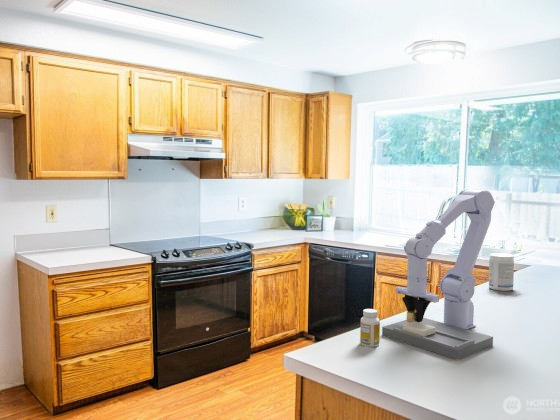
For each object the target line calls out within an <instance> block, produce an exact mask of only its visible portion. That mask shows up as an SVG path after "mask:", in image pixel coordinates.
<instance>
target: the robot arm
mask: <svg viewBox="0 0 560 420" xmlns="http://www.w3.org/2000/svg"><path fill="white" fill-rule="evenodd" d="M495 203H496V202H495V199H494V197H493V195H492V193H491V192H490V191H489V190H486V189H485V190H478V189H477V190H476V189H474V190H473V189H463V190H461V191H460V192H459V193H458V194H457V195H455V196H454V200H453V202H452V203H451V204H450V205H449V206H448V207H447V209H446V210H445V211H444V212H443V213H442V214H441V215H440V217H438V219H437V220H431V221H427V222H426V223H425V225H426V226H424V227H423V229H421V230H420V231H419V232H417V233H416V234H415V236H414V237H411V238H409V239H407V241H406V243H405V246H403V250H404V253H405V254H406V259H407V276H406V277H407V281H406V283H407V285H406V287H403V286H397V287H395V291H394V292H395V294H397V295H404V296H402V297H401V298H402V302H403V304H404V305H405V307H406V312H408V311H412V310H416V322H422V320H423V318H425V313H426V311H427V308H428V306H429V305H430V303H431V302H432V303H434V304H436V303H439V302H440V295H438V294H435V293H433V292H429V291H427V283H428V282H427V276H428V257H429V256H431V254H432V251H433V248H434V245H436V244H437V243H438V242H439V241H440V240H441V239H442V238H443V237H444V236H445V234H446V232H447V231H446V228H447V227H448V226H450V225H451V224H452V223H453V222H454V221H455V220H456V219H458V218H459V217H460V216H461V215H462V214H464V213H465V214H466V216H467V217H468V218H469V221H470V223H469V226H468V229H467V230H466V235H465V237H464V239H463V242H462V245H461V247H460V250H459V253H458V256H457V258H456V261H455V264H454V266H453V267H451V268H450V269H448V270H447V271H446V273H445V275H444V276H443V277H442V278H441V280H440V282H439V289H440V292H441V293H442V295H443V298H444V299H443V300H444V302H443V322H441V323H445V324H449V325H452V326H456V327H459V328H463V329H467V330H470V329H472V328H474V327H476V326H477V324H475V323H474V316H475V315H474V314H475V313H474V312H475V311H474V308H475V305H474V303H473V301H472V300H471V299H473V296H474V294H475V285H476V282H477V280H476V278H475V276H474V275H473V270H474V268H475V265H476V262H477V261H478V257H479V255H480V251H481V249H482V246H483V244H484V240H485V237H486V235H487V233H488V229H489V227H490V225H491V221H492V211H493V208H494V205H495Z"/></svg>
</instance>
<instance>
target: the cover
mask: <svg viewBox="0 0 560 420" xmlns="http://www.w3.org/2000/svg"><path fill="white" fill-rule="evenodd" d="M403 330H404V331H407V332H411V333H414V334H417V335H420V336H423V337H424V336H427V335H430V334H433V333H436V327H433V326H430V325H426V324H423V323H419V322H416V321H415V322H412V323H408V324H405V325H403Z"/></svg>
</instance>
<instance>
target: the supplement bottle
mask: <svg viewBox="0 0 560 420" xmlns="http://www.w3.org/2000/svg"><path fill="white" fill-rule="evenodd" d="M362 312H363V313H362V314H363V316H362V317H361V318H360V339H359V342H360V344H361V346H364V347H367V348H375V347H379V345H380V335H381V334H380V331H381V330H380V329H381V326H380V325H381V324H380V323H381V322H380V321H381V320H380V318H379V317H378V315H379V314H378V310H377V309H376V308H375V309H374V308H365V309H363V310H362Z"/></svg>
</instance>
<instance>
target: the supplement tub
mask: <svg viewBox="0 0 560 420" xmlns="http://www.w3.org/2000/svg"><path fill="white" fill-rule="evenodd" d="M488 259H489V261H488V288H490V289H492V290H493V291H498V292H499V291H501V292H509V291H512V290H513V289H514V275H515V274H514V271H515V269H514V268H515V267H514V266H515V260H514V259H515V258H514V255H513V254H509V253H500V252H499V253H498V252H497V253H496V252H495V253H490V254H489V257H488Z"/></svg>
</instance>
